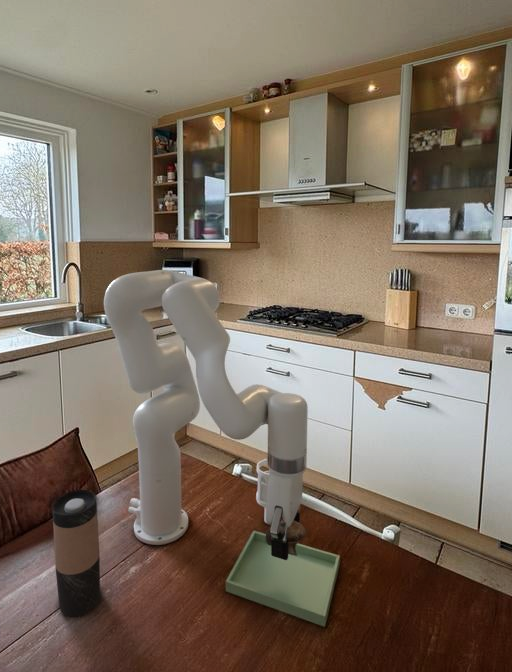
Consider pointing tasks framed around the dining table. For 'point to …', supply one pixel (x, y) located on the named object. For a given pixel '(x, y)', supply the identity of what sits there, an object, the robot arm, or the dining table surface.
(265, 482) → the white open cylindrical frame
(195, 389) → the robot arm
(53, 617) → the dining table surface
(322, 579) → the tray
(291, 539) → the mushroom
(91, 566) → the travel mug
